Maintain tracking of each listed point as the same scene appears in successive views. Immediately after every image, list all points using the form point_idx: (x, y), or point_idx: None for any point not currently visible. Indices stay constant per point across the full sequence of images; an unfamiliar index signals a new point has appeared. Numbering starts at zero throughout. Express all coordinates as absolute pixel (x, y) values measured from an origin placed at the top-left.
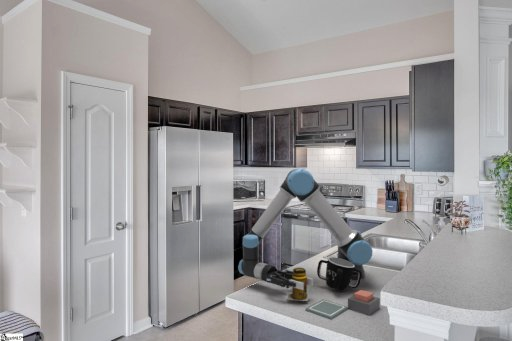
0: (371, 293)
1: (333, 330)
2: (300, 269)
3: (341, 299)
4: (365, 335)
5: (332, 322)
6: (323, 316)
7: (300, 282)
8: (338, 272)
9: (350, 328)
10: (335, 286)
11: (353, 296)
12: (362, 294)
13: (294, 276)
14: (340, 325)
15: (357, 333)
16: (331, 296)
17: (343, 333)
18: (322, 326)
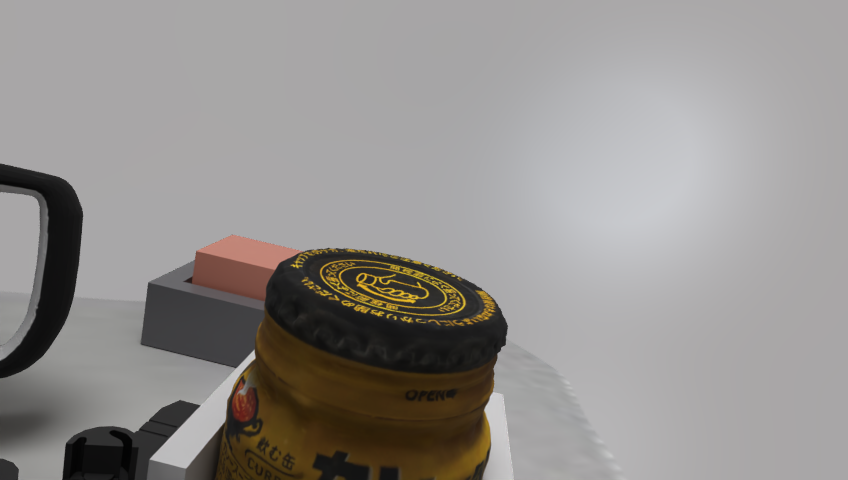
0: (241, 238)
1: (581, 413)
2: (376, 280)
3: (108, 407)
4: (511, 344)
5: (514, 421)
6: None
7: (493, 412)
8: (73, 194)
9: (503, 372)
10: (47, 345)
11: (241, 300)
12: (277, 255)
13: (480, 429)
14: (511, 396)
15: (520, 358)
16: (30, 465)
17: (566, 387)
18: (597, 449)
